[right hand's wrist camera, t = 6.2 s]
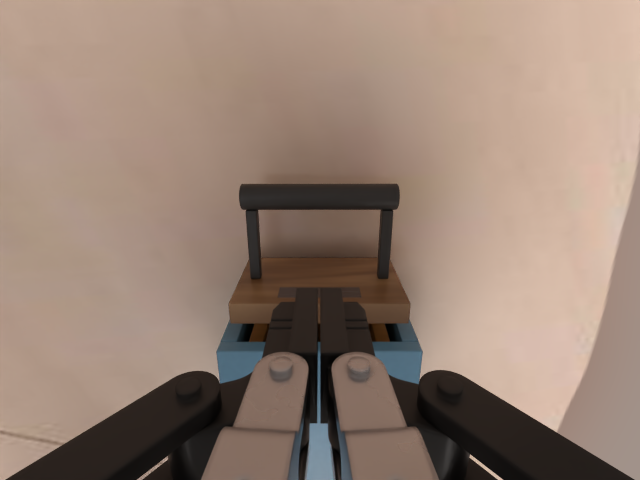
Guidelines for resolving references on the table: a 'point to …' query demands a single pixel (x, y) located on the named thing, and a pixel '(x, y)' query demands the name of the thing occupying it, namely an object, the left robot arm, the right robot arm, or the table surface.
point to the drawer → (348, 273)
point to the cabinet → (243, 356)
